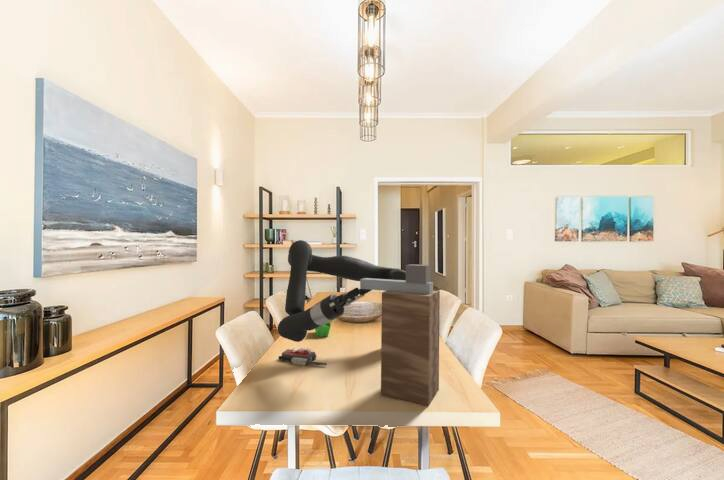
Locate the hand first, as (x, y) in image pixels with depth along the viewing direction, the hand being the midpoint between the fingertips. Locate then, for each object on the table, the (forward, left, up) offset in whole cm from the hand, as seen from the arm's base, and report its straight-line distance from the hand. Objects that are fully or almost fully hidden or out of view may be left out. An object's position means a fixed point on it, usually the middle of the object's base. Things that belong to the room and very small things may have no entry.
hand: (364, 288), depth 109 cm
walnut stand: (0, +15, -30) cm, 34 cm away
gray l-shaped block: (0, +10, 0) cm, 10 cm away
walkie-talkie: (-8, -28, -31) cm, 42 cm away
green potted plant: (-42, -42, -30) cm, 66 cm away
